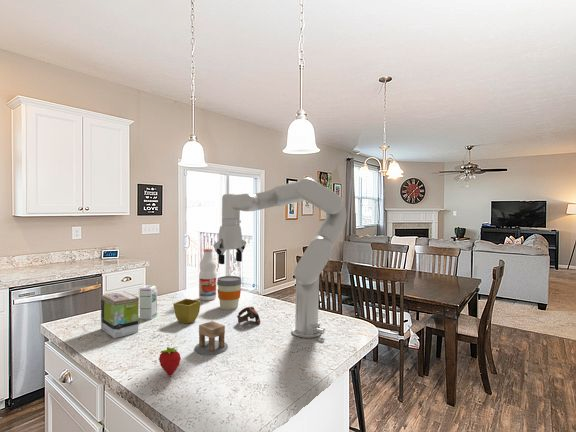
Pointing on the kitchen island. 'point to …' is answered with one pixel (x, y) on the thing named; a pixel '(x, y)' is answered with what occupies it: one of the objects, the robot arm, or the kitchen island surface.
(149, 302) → the syrup box
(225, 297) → the reusable coffee cup
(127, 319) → the tea box
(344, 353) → the kitchen island surface
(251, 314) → the brown curved piece
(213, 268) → the white plastic bottle
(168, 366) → the strawberry
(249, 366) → the kitchen island surface
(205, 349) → the mat
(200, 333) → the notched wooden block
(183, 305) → the flower pot
